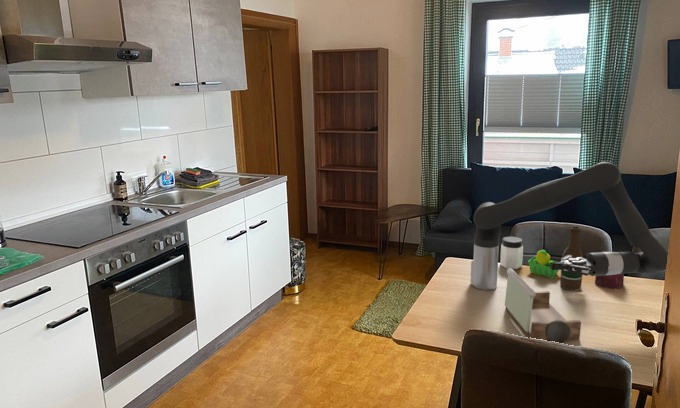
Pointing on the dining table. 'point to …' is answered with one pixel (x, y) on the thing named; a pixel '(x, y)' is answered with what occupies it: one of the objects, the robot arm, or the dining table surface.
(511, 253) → the jar
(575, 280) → the beer bottle
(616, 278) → the vegetable
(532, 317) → the cart bed
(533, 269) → the fruit basket
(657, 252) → the robot arm
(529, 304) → the tailgate
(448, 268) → the dining table surface
